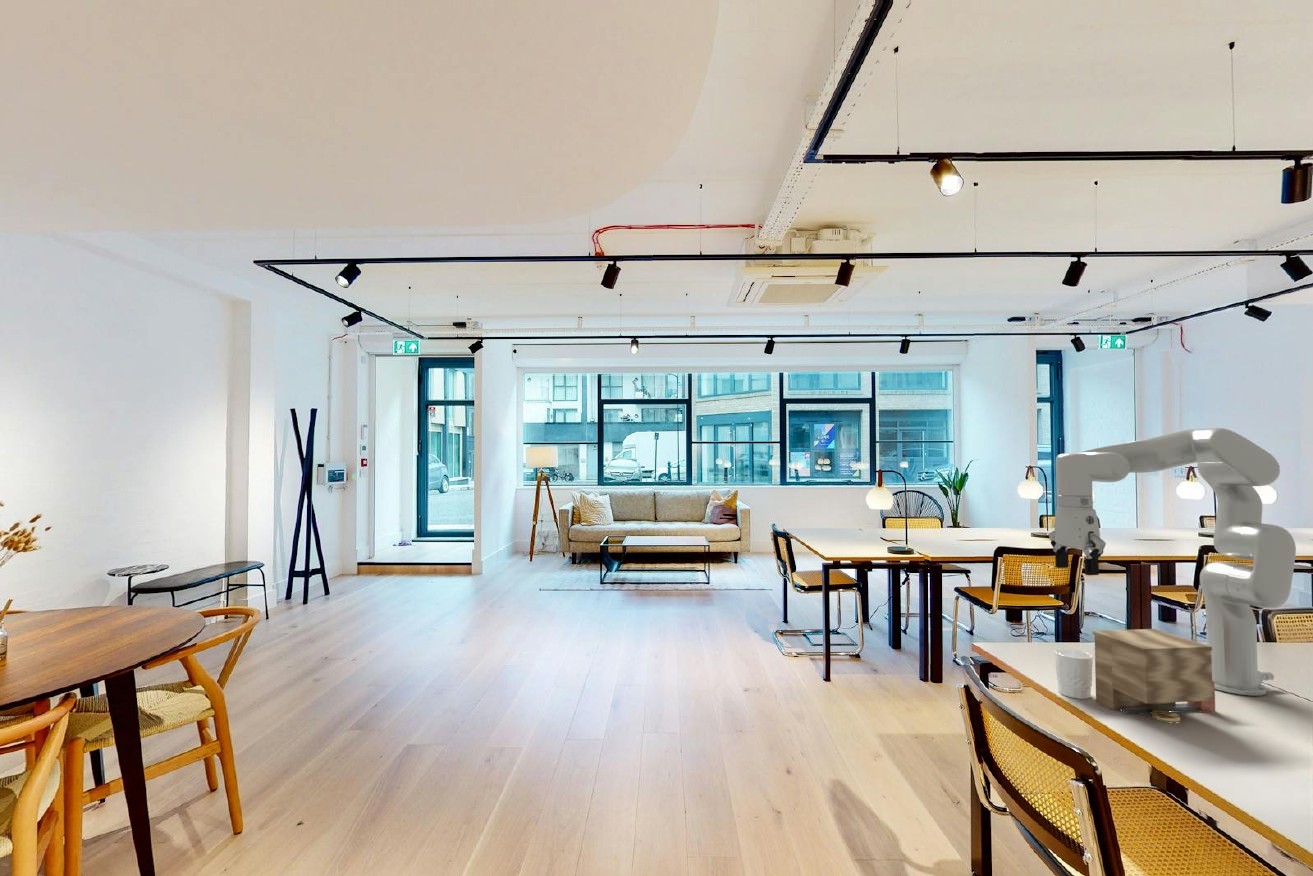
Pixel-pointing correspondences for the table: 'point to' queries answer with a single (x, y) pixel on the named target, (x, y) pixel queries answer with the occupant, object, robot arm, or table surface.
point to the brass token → (1165, 716)
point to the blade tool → (1175, 706)
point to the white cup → (1074, 673)
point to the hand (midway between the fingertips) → (1076, 571)
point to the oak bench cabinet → (1150, 668)
